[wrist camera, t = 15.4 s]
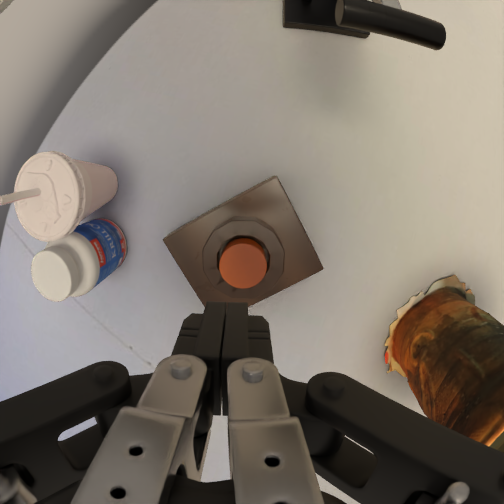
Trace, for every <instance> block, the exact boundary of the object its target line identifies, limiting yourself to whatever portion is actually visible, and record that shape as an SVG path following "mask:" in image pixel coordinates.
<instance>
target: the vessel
mask: <svg viewBox="0 0 504 504" xmlns="http://www.w3.org/2000/svg"><path fill="white" fill-rule="evenodd" d="M397 315H398V319H397V320H396V321H394V322H393V323H392V324H391V325H390V331H389V332H390V337H389V338H388V339H387V340H386V343H385V345H384V346H388V345H389V346H388V349H387V351H386V353H385V362H386V364H387V363H389V364H390V369H389V371H387V373H389V372H391V371H394V370H396V371H397V372H398V373H399V374H401V375H402V376H404V377H407V378H408V383H409V386H410V388H411V390H412V391H413V393H414V395H415V397H416V398H417V400H418V402H419V405H420V407H421V409H422V410H423V412H424V414H425V415H426V416H427V417H428V418H429V419H431V420H433V421H435V422H437V423H439V424H441V425H443V426H445V427H447V428H450V429H452V430H454V431H456V432H458V433H460V434H462V435H465V436H467V437H469V438H471V439H473V440H476V441H478V442H480V443H482V444H485V445H487V446H489V447H492V448H494V449H496V450H499V451H501V452H503V453H504V325H502V324H501V323H500V322H498V321H497V320H496V319H495V318H493V317H492V316H491V315H490V314H489V313H487V312H485V311H483V310H481V309H479V308H478V307H477V306H475V296H474V295H473V293H472V292H471V290H470V289H469V290H468V291H466V292H465V283H460V281H459V279H458V278H457V277H456V275H453V276H451V277H448V278H445V279H441V280H439V281H437V282H435V283H434V284H433V285H432V286H431V287H430V289H429V290H428V292H427V293H426V295H424V293H423V292H422V291H421V292H420V293H419V295H418V296H412V297H411V298H410V300H409V302H408V303H407V304H405V305H404V306H403V307H401V308H399V309H398V310H397Z"/></svg>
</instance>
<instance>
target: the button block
mask: <svg viewBox="0 0 504 504" xmlns="http://www.w3.org/2000/svg"><path fill="white" fill-rule="evenodd" d="M239 238H248V239H251V240H254V241H255V242H257V243H258V244H259V245H260V246H261V247H262V248H263V250H264V252H265V256H266V262H267V270H266V274H265V276H264V278H263V279H262V280H261V281H260V282H259V283H258V284H257V285H255V286H253V287H250V288H243V289H242V288H236V287H233V286H231V285H230V284H228V283H227V282H226V281H225V280H224V279H223V277H222V276H221V273H220V270H219V262H220V258H221V254H222V252H223V249H224V248H225V246H226V245H227V244H228V243H230V242H231V241H233V240H235V239H239ZM163 241H164V243H165V244H166V246H167V248H168V249H169V251H170V253H171V254H172V256H173V258H174V259H175V261H176V262H177V264H178V266H179V267H180V269H181V270H182V272H183V274H184V275H185V277H186V278H187V280H188V282H189V283H190V285H191V286H192V288H193V289H194V291H195V293H196V294H197V296H198V297H199V299H200V300H201V302H202V303H203V305H204V306H206V302H207V301H215V302H227V307H228V302H246V303H248V307H249V306H251V305H253V304H255V303H257V302H259V301H261V300H263V299H265V298H267V297H269V296H272V295H274V294H276V293H278V292H280V291H282V290H284V289H286V288H288V287H290V286H291V285H293V284H295V283H297V282H299V281H301V280H303V279H305V278H307V277H309V276H311V275H313V274H315V273H317V272H319V271H321V270H323V266H322V264H321V262H320V260H319V258H318V256H317V254H316V252H315V250H314V248H313V246H312V244H311V242H310V240H309V238H308V236H307V234H306V232H305V230H304V228H303V226H302V224H301V222H300V220H299V218H298V216H297V214H296V212H295V210H294V208H293V206H292V204H291V202H290V200H289V198H288V196H287V194H286V193H285V191H284V189H283V187H282V185H281V183H280V181H279V179H278V177H276V176H272V177H270V178H269V179H267V180H265V181H263V182H261V183H259V184H257V185H255V186H253V187H252V188H250V189H248V190H246V191H244V192H242V193H240V194H239V195H237V196H235V197H233V198H231V199H229V200H228V201H226V202H224V203H222V204H220V205H218V206H217V207H215V208H213V209H211V210H209V211H208V212H206V213H204V214H202V215H201V216H199V217H197V218H195V219H194V220H192V221H190V222H188V223H187V224H185V225H183V226H181V227H180V228H178V229H176V230H174V231H173V232H171V233H169V234H168V235H167V236H166V237H165V238H164V239H163Z"/></svg>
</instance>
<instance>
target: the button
mask: <svg viewBox="0 0 504 504" xmlns="http://www.w3.org/2000/svg"><path fill="white" fill-rule="evenodd" d="M219 270H220V273H221V276H222V277H223V279H224V280H225V281H226V282H227V283H228V284H230V285H231V286H233V287H236V288H242V289H243V288H250V287H253V286H255V285H257V284H258V283H259V282H260V281H261V280H262V279H263V278H264V276H265V274H266V270H267V262H266V256H265V252H264V250H263V248H262V247H261V246H260V245H259V244H258V243H257V242H255V241H254V240H251V239H248V238H239V239H235V240H233V241H231V242H230V243H228V244H227V245H226V246H225V248H224V249H223V252H222V254H221V258H220V262H219Z"/></svg>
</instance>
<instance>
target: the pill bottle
mask: <svg viewBox="0 0 504 504" xmlns="http://www.w3.org/2000/svg"><path fill="white" fill-rule="evenodd" d="M126 251H127V245H126V240H125V237H124V234H123V232H122V231H121V229H120V228H119V227H118V226H117V225H116V224H115V223H114V222H112V221H110V220H107V219H94V220H91V221H89V222H86V223H84V224H81V225H79V226H77V227H76V228H75V230H74V231H73V232H71V233H70V234H69V235H68V236H66V237H64V238H61V239H58V240H55V241H50V242H48V244H47V245H46V248H45V249H44V250H42V251H41V252H39V253H38V254H37V255H36V256H35V257H34V259H33V261H32V265H31V274H32V279H33V282H34V284H35V286H36V288H37V289H38V291H39V292H40V293H41V294H42V295H43V296H44V297H45V298H47V299H48V300H51V301H54V302H59V301H63V300H64V299H66V298H67V297H69V296H71V297H78V296H82V295H84V294H86V293H88V292H89V291H90V290H92V289H93V288H94V287H95V286H96V285H98V284H99V283H100V282H101V281H102V280H104V279H105V278H106V277H107V276H108V275H110V274H111V273H112V272H113V271H115V270H116V269H117V268H118V267H119V266H120V265H121V264H122V262H123V261H124V259H125V256H126Z"/></svg>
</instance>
